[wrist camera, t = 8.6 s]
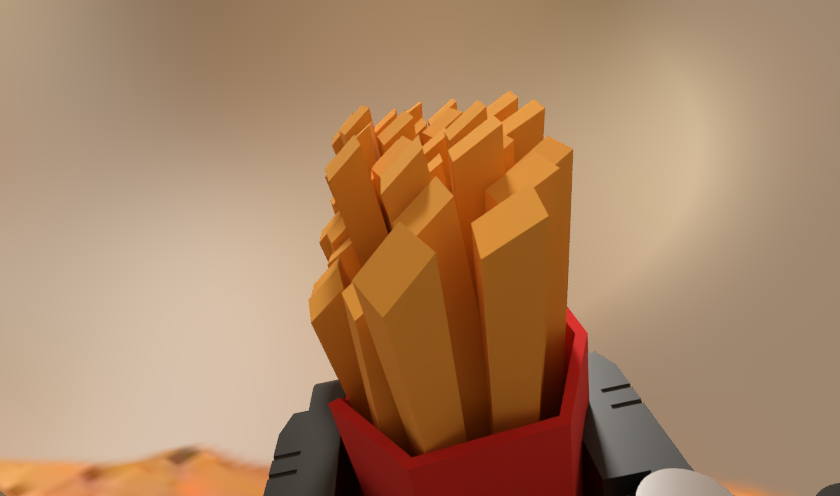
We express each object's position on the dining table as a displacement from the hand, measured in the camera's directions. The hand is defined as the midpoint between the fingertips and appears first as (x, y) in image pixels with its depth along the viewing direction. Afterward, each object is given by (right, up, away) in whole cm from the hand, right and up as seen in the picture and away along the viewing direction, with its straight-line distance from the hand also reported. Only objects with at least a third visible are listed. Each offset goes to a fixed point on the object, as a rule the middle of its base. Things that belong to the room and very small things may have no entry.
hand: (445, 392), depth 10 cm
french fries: (+2, -6, +3) cm, 7 cm away
